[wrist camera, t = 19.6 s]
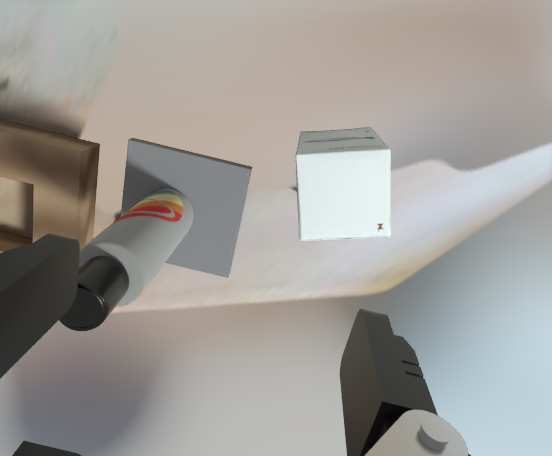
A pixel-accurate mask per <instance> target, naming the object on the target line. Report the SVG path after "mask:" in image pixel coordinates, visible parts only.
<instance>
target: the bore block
mask: <svg viewBox="0 0 552 456" xmlns="http://www.w3.org/2000/svg"><path fill="white" fill-rule="evenodd" d="M99 146H100V144H98V143H93V142H90V141H85V140H81V139H77V138H73V137H69V136H65V135H61V134H57V133H53V132H48V131H44V130H40V129H36V128H32V127H28V126H24V125H20V124H16V123H11V122H7V121H3V120H0V177H5V178H9V179H13V180H17V181H21V182H25V183H29V184H34V194H33V239H29V238H25V237H21V236H17V235H13V234H8V233H4V232H0V253H2V252H4V251H7V250H10V249H14V248H17V247H20V246H24V245H26V246H29V245H30V244H32V243H33V242H35V241H37V240H38V239H40V238H41V237H43V236H44V235H46V234H48V233H52V234H56V235H60V236H64V237H68V238H72V239H76V240H78V241H79V244H80V250H81V249H82V248H83V247H84V246H85V245H86V244H88V243H89V242H90V241H91V240H92V239H93V228H94V215H95V202H96V188H97V174H98V162H99Z"/></svg>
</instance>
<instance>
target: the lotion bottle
mask: <svg viewBox="0 0 552 456" xmlns="http://www.w3.org/2000/svg"><path fill="white" fill-rule="evenodd" d="M193 218H194V213H193V208H192V205H191V203H190V202H189V200H188V199H187V198H186V197H185V196H184V195H183V194H181V193H180V192H178V191H176V190H172V189H160V190H156V191H154V192H152V193H151V194H149V195H148V196H147V197H145V198H144V199H143V200H141V201H140V202H139V203H138V204H136V205H135V206H134V207H133V208H131V209H130V210H129V211H128V212H126V213H125V214H124V215H123V216H121V217H120V218H119V219H118V220H116V221H115V222H114V223H113V224H111V225H110V226H109V227H108V228H106V229H105V230H104V231H102V232H101V233H100V234H99V235H97V236H96V237H95V238H94V239H92V240H91V241H90V242H89V243H88V244H86V245H85V246H84V247H83V248H82V249H81V250H80V257H79V273H78V288H77V294H76V297H75V300H74V302H73V304H72V306H71V307H70V309H69V310H68V311H67V312H66V313H65V314H64V315H63V316H62V317H61V318H60V319H59V321H60V322H61V323H62V324H63V325H65V326H66V327H68V328H70V329H72V330H75V331H88V330H91V329H94V328H96V327H98V326H99V325H100V324H101V323H103V322H104V320H105V319H106V318H107V317H108V315H109V314H110V313H111V312H112V310H113V309H114V308H115V307H120V306H125V305H128V304H130V303H132V302H133V301H135V300H136V299H137V298H138V297H139V296H140V295H141V294H142V293H143V291H144V290H145V289H146V287H147V286H148V285H149V283H150V282H151V281H152V279H153V278H154V277H155V275H156V274H157V273H158V271H159V270H160V269H161V267H162V266H163V265H164V263H165V262H166V261H167V259H168V258H169V257H170V255H171V254H172V252H173V251H174V250H175V248H176V247H177V246H178V244H179V243H180V242H181V240H182V239H183V238H184V236H185V235H186V234H187V232H188V231H189V229H190V227H191V225H192V223H193Z"/></svg>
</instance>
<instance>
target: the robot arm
mask: <svg viewBox="0 0 552 456" xmlns="http://www.w3.org/2000/svg"><path fill="white" fill-rule="evenodd" d="M79 257H80V244H79V241H78V240H76V239H72V238H68V237H64V236H60V235H56V234H52V233H48V234H46V235H44V236H43V237H41V238H40V239H38V240H37V241H35V242H33V243H32V244H30V245H29V246H26V245H24V246H20V247H17V248H14V249H10V250H7V251H4V252H2V253H0V378H1V377H2V376H3V375H4V374H5V373H6V372H7V371H8V370H9V369H10V368H11V367H12V366H13V365H14V364H15V363H16V362H17V361H18V360H19V359H20V358H21V357H22V356H23V355H24V354H25V353H26V352H27V351H28V350H29V349H30V348H31V347H32V346H33V345H34V344H35V343H36V342H37V341H38V340H39V339H40V338H41V337H42V336H43V335H44V334H45V333H46V332H47V331H48V330H49V329H50V328H51V327H52V326H53V325H54V324H55V323H56V322H57V321H58V320H59V319H60V318H61V317H62V316H63V315H64V314H65V313H66V312H67V311H68V310H69V309H70V307H71V306H72V304H73V302H74V300H75V297H76V294H77V288H78V273H79ZM340 381H341V392H342V404H343V415H344V426H345V437H346V447H347V456H471V455H469V454H468V449H467V446H466V443H465V441H464V439H463V438H462V436H461V435H460V434H459V432H458V431H457V430H456V429H455V428H454V427H453V426H452V425H451V424H450V423H448V422H447V421H446V420H444V419H442V418H441V417H439V416H438V415H437V412H436V409H435V407H434V404H433V401H432V398H431V395H430V392H429V390H428V387H427V384H426V382H425V379H424V378H423V373H422V370H421V368H420V367H419V362H418V359H417V356H416V354H415V351H414V350H413V348H412V347H411V346H410V345H409V344H408V343H407V341H406V340H405V339H404V338H403V337H401V336H396V335H394V334H393V331H392V328H391V324H390V321H389V318H388V316H387V315H385V314H381V313H376V312H372V311H368V310H364V309H360V310H359V312H358V313H357V316H356V318H355V321H354V324H353V327H352V330H351V333H350V336H349V339H348V341H347V344H346V347H345V350H344V353H343V357H342V361H341V367H340ZM12 456H81V455H79V454H77V453H73V452H69V451H65V450H60V449H56V448H52V447H48V446H44V445H40V444H35V443H31V442H27V441H23V442H22V444H21V445H20V446H19V448H18V449H17V450H16V451H15V453H14V454H13V455H12Z"/></svg>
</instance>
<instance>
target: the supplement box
mask: <svg viewBox="0 0 552 456" xmlns="http://www.w3.org/2000/svg"><path fill="white" fill-rule="evenodd" d="M296 172H297V173H296V174H297V200H298V224H299V239H300V240H302V241H313V240H333V239H356V238H380V237H390V236H391V203H390V149H389V147H388V146H387V145H386V144H385V143H384V142H383V140H382V139H381V138H380V137H379V136H378V135H377V134H376V132H375V131H374V130H373V129H372V128H371V127H366V128H356V129H345V130H330V131H309V132H308V131H307V132H301V133H300V138H299V144H298V148H297V152H296Z"/></svg>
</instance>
